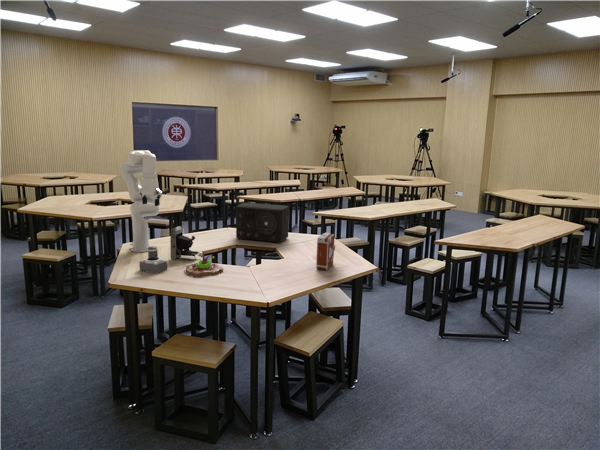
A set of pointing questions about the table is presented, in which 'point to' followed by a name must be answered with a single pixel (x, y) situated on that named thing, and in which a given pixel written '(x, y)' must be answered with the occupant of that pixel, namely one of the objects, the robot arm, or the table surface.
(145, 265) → the grey hollow block
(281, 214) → the vintage radio
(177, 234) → the vintage camera
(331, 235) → the cine camera
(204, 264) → the plant
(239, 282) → the table surface
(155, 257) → the lens
